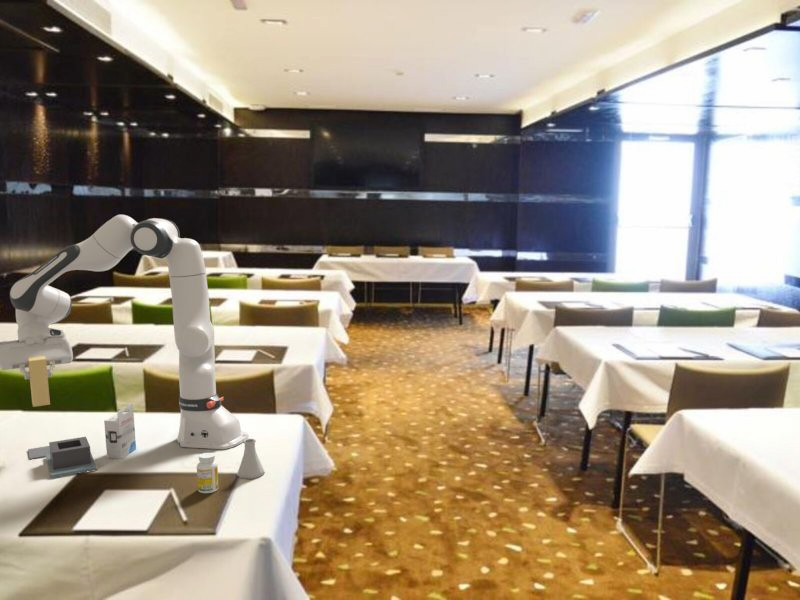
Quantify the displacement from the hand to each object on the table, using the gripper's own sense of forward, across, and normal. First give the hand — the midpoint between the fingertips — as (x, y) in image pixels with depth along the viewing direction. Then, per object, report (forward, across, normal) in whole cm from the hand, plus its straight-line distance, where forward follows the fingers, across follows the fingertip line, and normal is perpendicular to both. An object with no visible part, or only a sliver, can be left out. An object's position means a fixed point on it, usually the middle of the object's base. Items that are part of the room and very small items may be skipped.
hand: (38, 377), depth 225 cm
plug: (+6, 0, +6) cm, 8 cm away
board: (+26, +6, +7) cm, 28 cm away
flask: (+51, +49, -18) cm, 73 cm away
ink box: (+26, +20, +8) cm, 34 cm away
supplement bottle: (+54, +36, -21) cm, 68 cm away
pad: (+16, 0, +18) cm, 24 cm away
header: (+26, +6, +7) cm, 28 cm away
